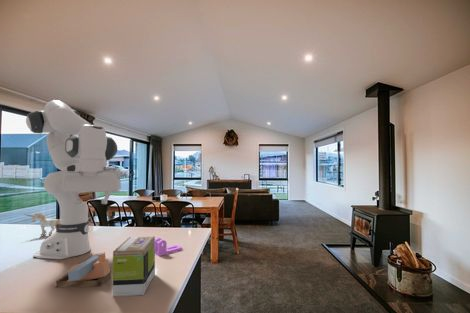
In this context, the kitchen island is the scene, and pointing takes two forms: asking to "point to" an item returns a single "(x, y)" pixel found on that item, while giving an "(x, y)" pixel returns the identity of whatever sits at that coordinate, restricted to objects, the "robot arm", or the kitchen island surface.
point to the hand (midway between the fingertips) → (91, 204)
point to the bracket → (164, 247)
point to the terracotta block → (96, 268)
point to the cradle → (80, 282)
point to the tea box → (133, 266)
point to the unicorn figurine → (45, 222)
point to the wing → (83, 268)
